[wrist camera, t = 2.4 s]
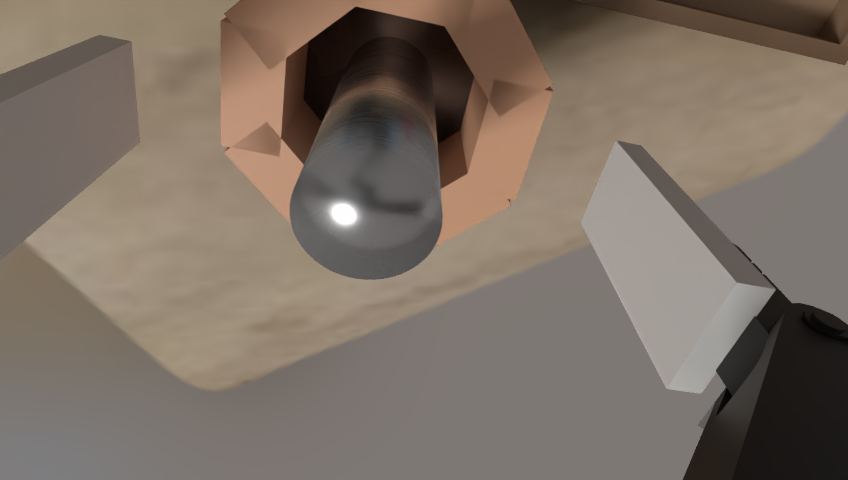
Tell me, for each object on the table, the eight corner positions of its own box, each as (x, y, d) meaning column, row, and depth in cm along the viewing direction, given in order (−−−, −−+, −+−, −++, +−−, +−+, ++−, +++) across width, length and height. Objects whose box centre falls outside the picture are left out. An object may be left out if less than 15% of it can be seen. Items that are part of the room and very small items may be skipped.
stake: (316, -87, 21) (135, -58, 8) (506, -41, 22) (643, 56, 9) (300, 104, 25) (167, 335, 12) (460, 135, 26) (503, 383, 13)
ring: (259, -105, 15) (220, -105, 12) (559, -32, 16) (591, -16, 13) (250, 175, 20) (221, 224, 17) (481, 217, 21) (491, 269, 18)
